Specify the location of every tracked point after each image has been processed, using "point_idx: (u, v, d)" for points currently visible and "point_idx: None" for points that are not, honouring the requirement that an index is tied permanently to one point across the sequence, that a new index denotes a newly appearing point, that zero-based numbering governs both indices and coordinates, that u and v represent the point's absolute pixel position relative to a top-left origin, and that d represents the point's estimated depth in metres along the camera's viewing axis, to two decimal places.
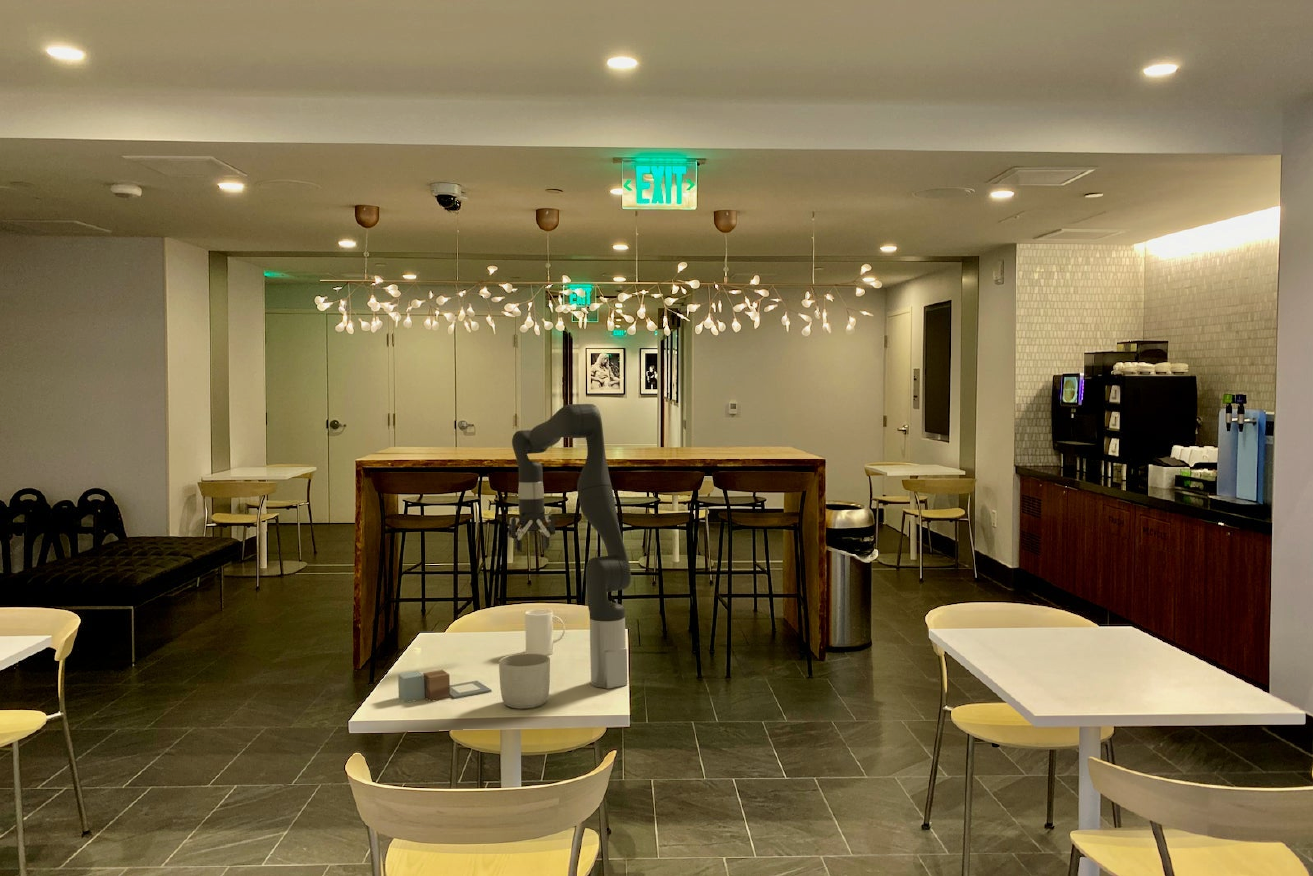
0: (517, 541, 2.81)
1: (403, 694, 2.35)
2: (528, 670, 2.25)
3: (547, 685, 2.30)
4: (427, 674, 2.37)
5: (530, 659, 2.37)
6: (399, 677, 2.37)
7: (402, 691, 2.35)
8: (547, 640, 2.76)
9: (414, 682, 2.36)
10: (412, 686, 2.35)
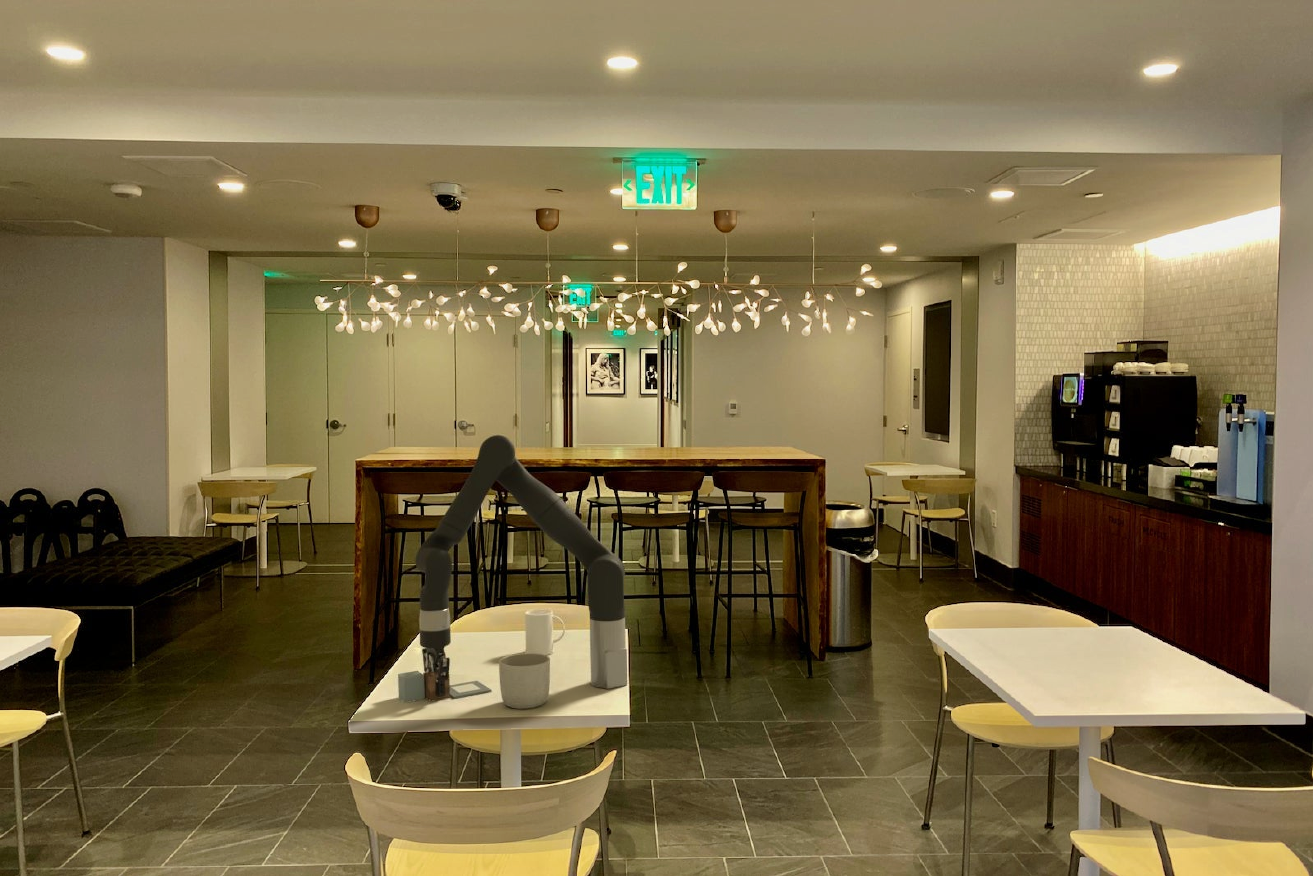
0: (443, 683, 2.35)
1: (403, 694, 2.35)
2: (528, 670, 2.25)
3: (547, 685, 2.30)
4: (427, 674, 2.37)
5: (530, 659, 2.37)
6: (399, 677, 2.37)
7: (402, 691, 2.35)
8: (547, 640, 2.76)
9: (414, 682, 2.36)
10: (412, 686, 2.35)
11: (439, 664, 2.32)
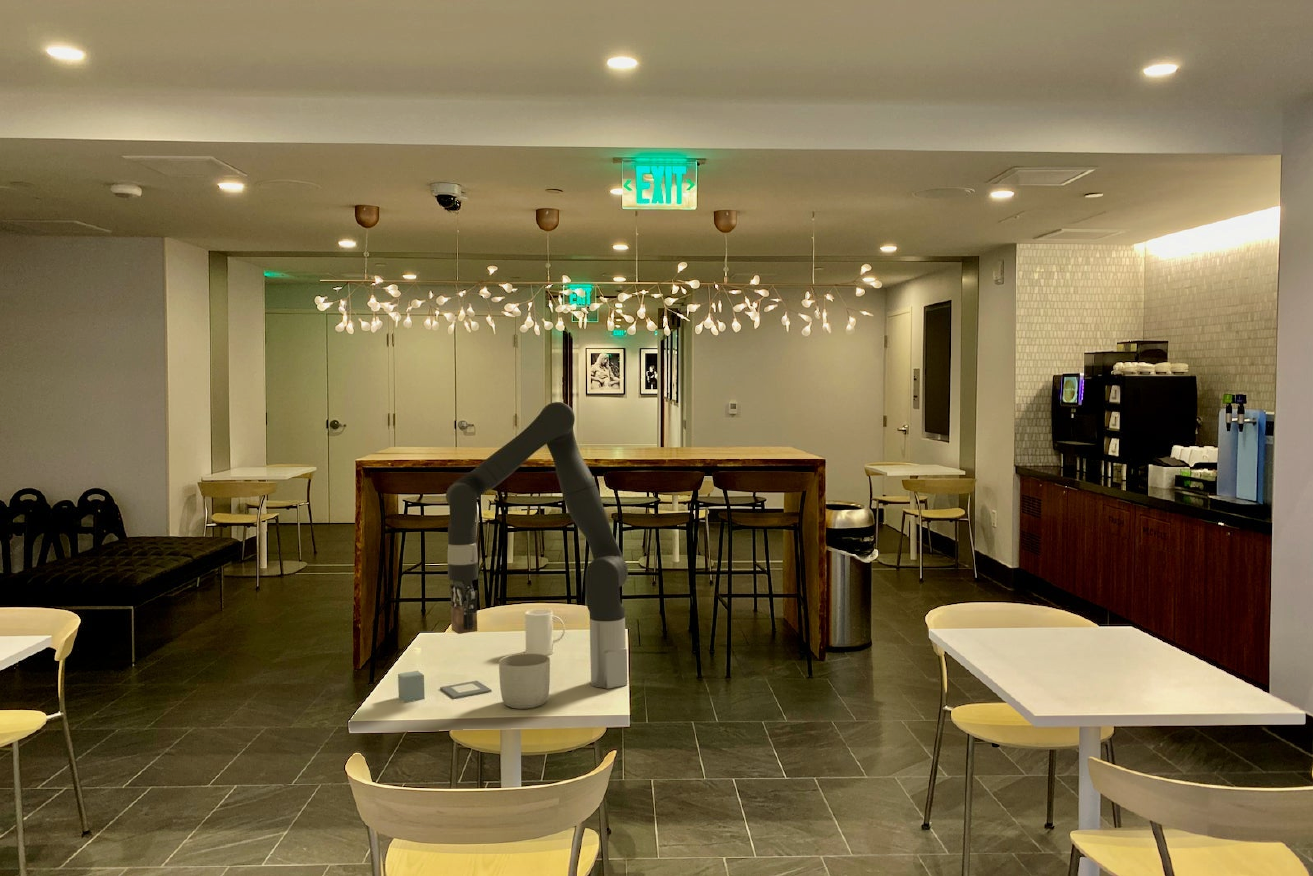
0: (471, 616, 2.40)
1: (403, 694, 2.35)
2: (528, 670, 2.25)
3: (547, 685, 2.30)
4: (455, 608, 2.42)
5: (529, 659, 2.37)
6: (399, 677, 2.37)
7: (402, 691, 2.35)
8: (547, 640, 2.76)
9: (414, 682, 2.36)
10: (412, 686, 2.35)
11: (467, 597, 2.37)
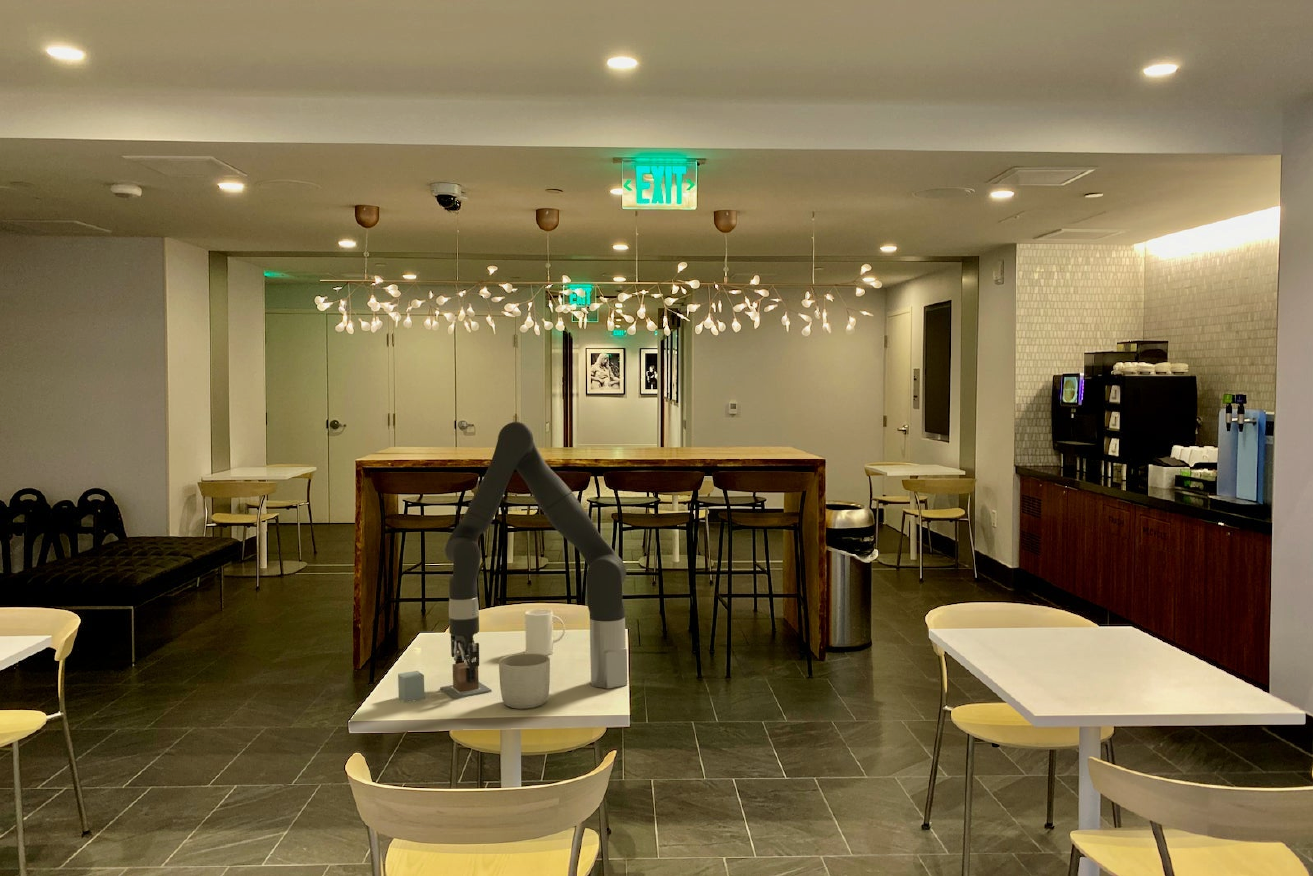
0: None
1: (403, 694, 2.35)
2: (528, 670, 2.25)
3: (547, 685, 2.30)
4: (456, 665, 2.42)
5: (529, 659, 2.37)
6: (399, 677, 2.37)
7: (402, 691, 2.35)
8: (547, 640, 2.76)
9: (414, 682, 2.36)
10: (412, 686, 2.35)
11: (469, 649, 2.37)
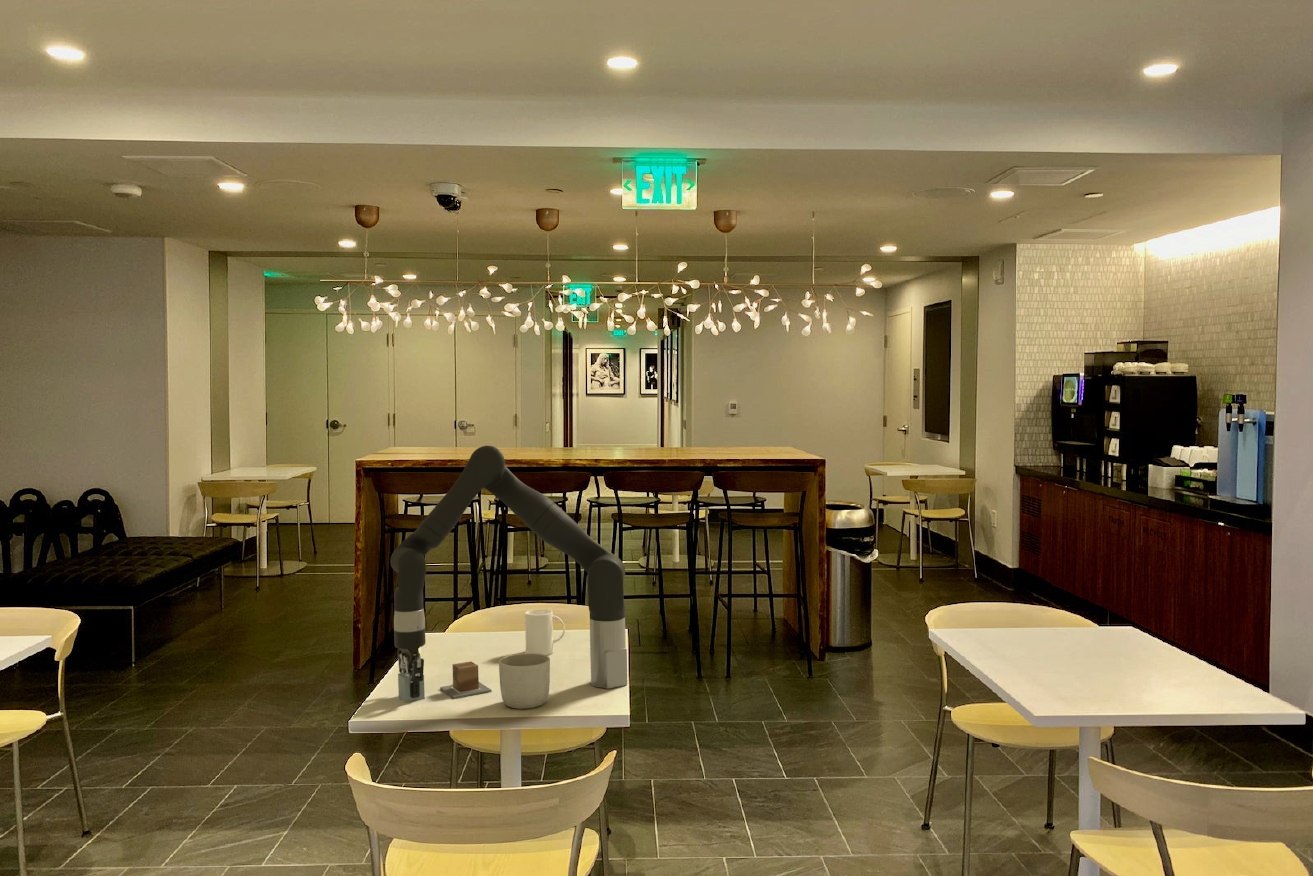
0: None
1: (403, 694, 2.35)
2: (528, 670, 2.25)
3: (547, 685, 2.30)
4: (456, 665, 2.42)
5: (530, 659, 2.37)
6: (399, 677, 2.37)
7: (402, 690, 2.35)
8: (547, 640, 2.76)
9: None
10: None
11: (413, 665, 2.32)
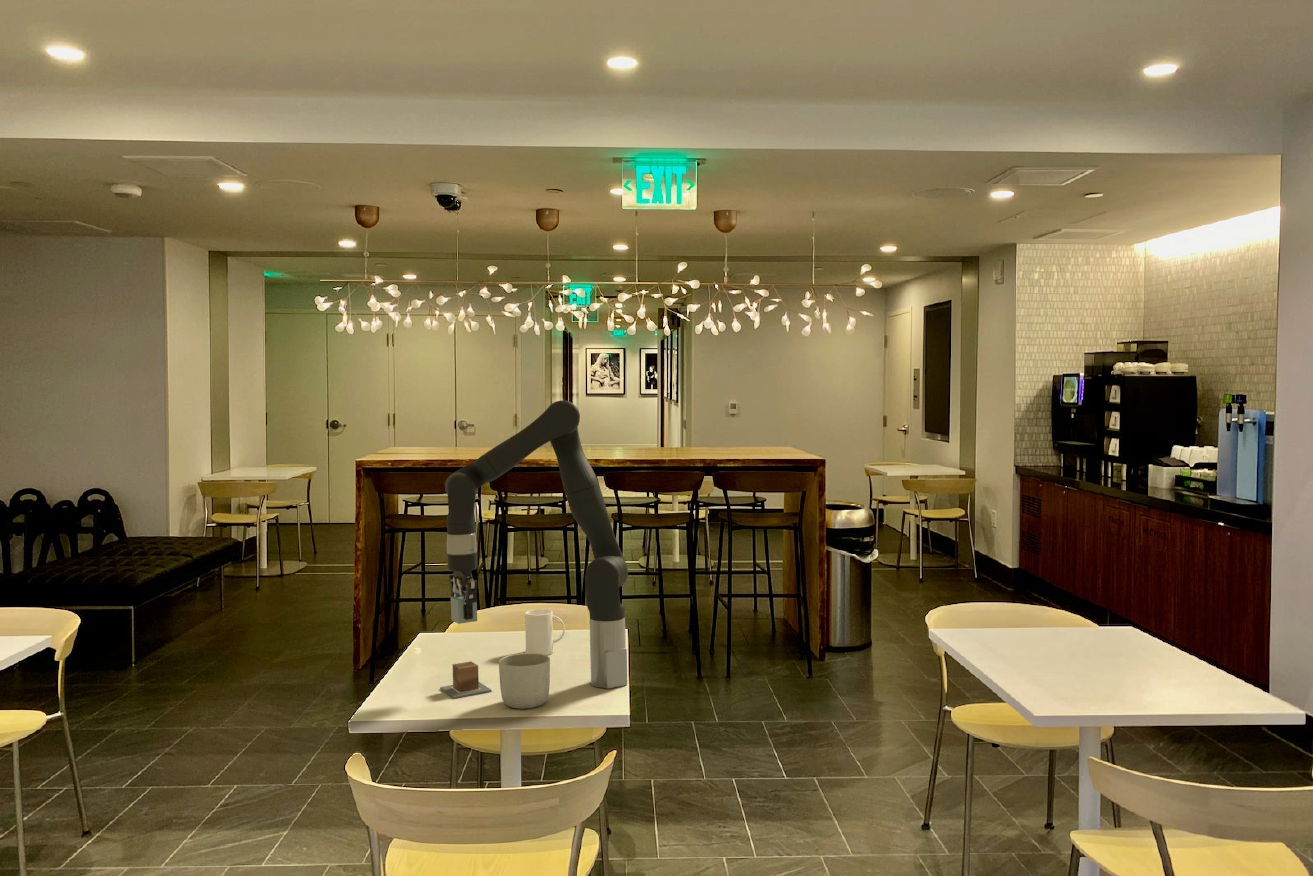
0: (471, 606, 2.40)
1: (457, 616, 2.40)
2: (528, 670, 2.25)
3: (547, 685, 2.30)
4: (456, 665, 2.42)
5: (530, 659, 2.37)
6: (452, 600, 2.42)
7: (456, 613, 2.40)
8: (547, 640, 2.76)
9: None
10: None
11: (467, 586, 2.36)
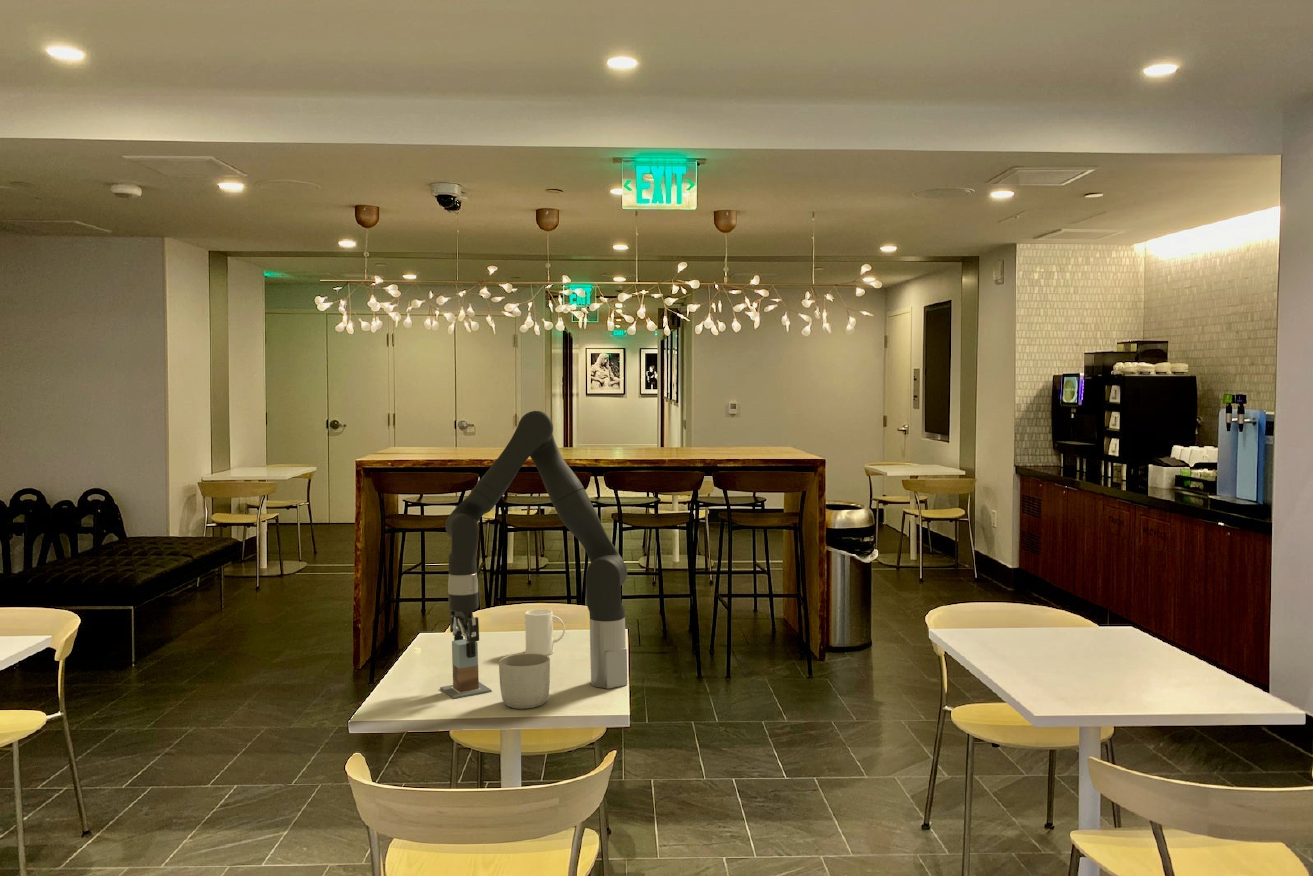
0: None
1: (457, 660, 2.40)
2: (528, 670, 2.25)
3: (547, 685, 2.30)
4: None
5: (530, 659, 2.37)
6: (453, 644, 2.43)
7: (457, 657, 2.41)
8: (547, 640, 2.76)
9: None
10: None
11: (468, 623, 2.37)
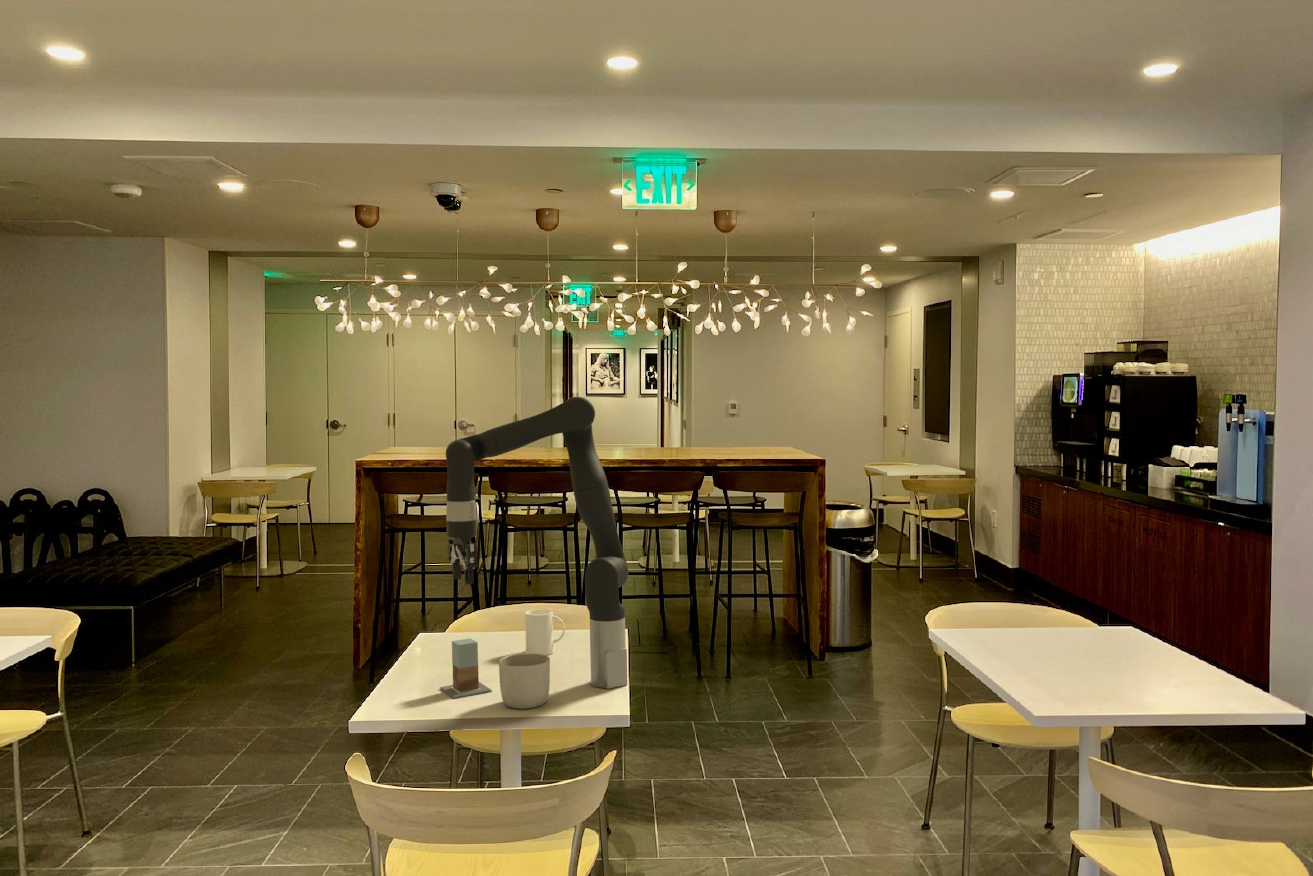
0: (472, 570, 2.38)
1: (457, 660, 2.40)
2: (528, 670, 2.25)
3: (547, 685, 2.30)
4: None
5: (530, 659, 2.37)
6: (453, 644, 2.43)
7: (457, 657, 2.41)
8: (547, 640, 2.76)
9: (468, 649, 2.41)
10: (466, 653, 2.40)
11: (466, 549, 2.36)
